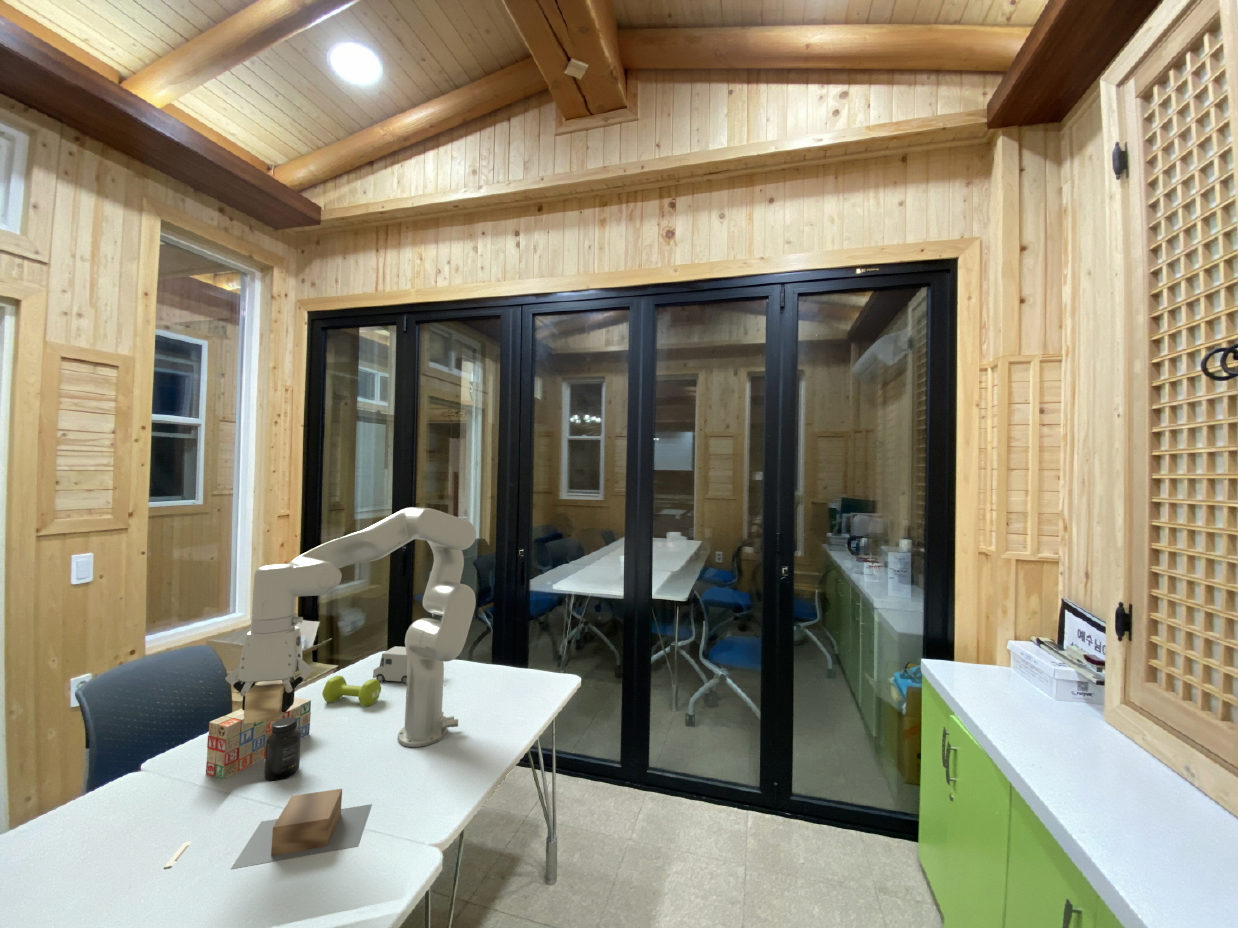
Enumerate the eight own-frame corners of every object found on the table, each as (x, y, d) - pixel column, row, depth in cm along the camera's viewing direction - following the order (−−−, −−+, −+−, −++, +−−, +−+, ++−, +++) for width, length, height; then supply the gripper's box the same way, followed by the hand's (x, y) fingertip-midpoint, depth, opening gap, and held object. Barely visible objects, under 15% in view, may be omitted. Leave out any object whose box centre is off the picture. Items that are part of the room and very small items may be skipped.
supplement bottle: (302, 762, 114) (305, 712, 115) (294, 779, 108) (297, 726, 108) (269, 768, 111) (272, 717, 112) (259, 785, 105) (262, 731, 106)
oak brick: (290, 706, 100) (291, 678, 101) (278, 719, 94) (279, 690, 95) (257, 709, 99) (259, 680, 99) (243, 723, 93) (245, 693, 93)
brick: (340, 813, 95) (342, 788, 95) (327, 845, 87) (328, 818, 87) (290, 821, 92) (291, 795, 93) (270, 855, 84) (272, 827, 84)
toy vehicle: (385, 672, 170) (387, 645, 170) (431, 675, 168) (433, 648, 169) (370, 682, 161) (372, 653, 162) (419, 686, 159) (420, 656, 160)
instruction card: (234, 835, 90) (234, 833, 90) (217, 858, 84) (217, 857, 84) (184, 843, 88) (184, 841, 88) (163, 868, 82) (163, 866, 82)
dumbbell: (383, 699, 149) (384, 676, 149) (366, 710, 141) (367, 686, 141) (338, 694, 151) (339, 671, 152) (318, 705, 144) (320, 681, 144)
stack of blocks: (293, 730, 129) (296, 685, 130) (309, 734, 127) (312, 688, 128) (204, 774, 109) (208, 720, 109) (223, 780, 107) (226, 725, 107)
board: (371, 809, 98) (371, 803, 98) (357, 852, 87) (358, 846, 87) (260, 827, 92) (261, 821, 92) (230, 876, 81) (230, 868, 81)
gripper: (325, 616, 103) (321, 698, 103) (234, 621, 99) (228, 707, 98) (313, 626, 96) (308, 715, 95) (214, 631, 92) (208, 724, 91)
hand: (268, 710), depth 97 cm, fingers closed on oak brick, 6 cm apart
